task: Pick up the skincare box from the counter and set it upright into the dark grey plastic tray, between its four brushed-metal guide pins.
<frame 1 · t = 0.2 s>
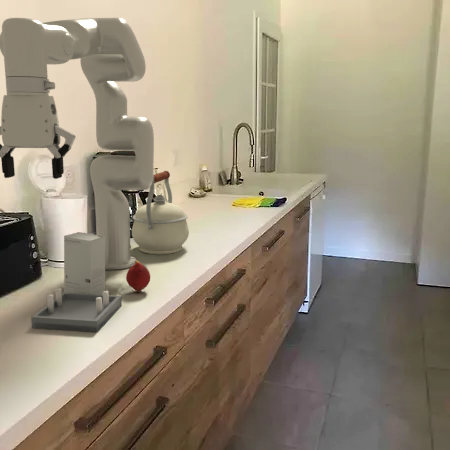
hand: (33, 177, 102), 31 cm above the countertop, fingers open, 9 cm apart
kettle: (162, 248, 170), on the countertop
onion: (138, 292, 128), on the countertop
pin tray: (79, 316, 112), on the countertop
skincare box: (86, 295, 126), on the countertop
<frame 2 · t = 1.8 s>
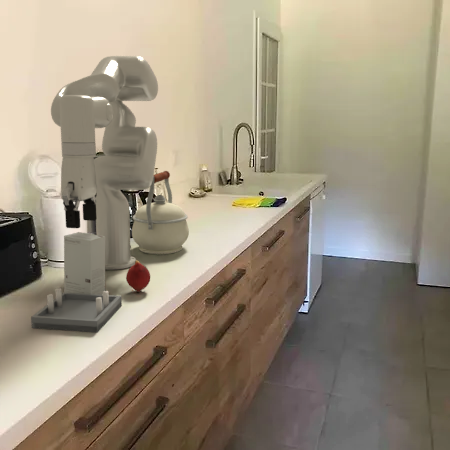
hand: (81, 223, 122), 18 cm above the countertop, fingers open, 9 cm apart
nothing on the countertop moved.
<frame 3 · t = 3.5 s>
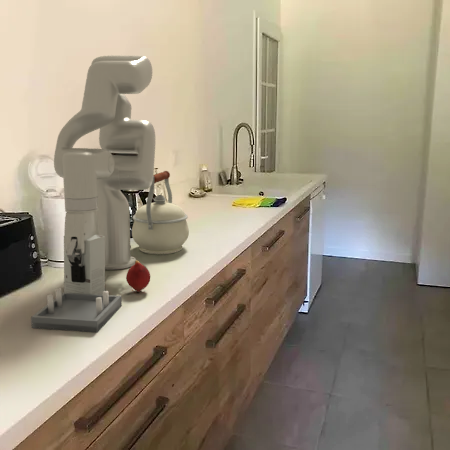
hand: (85, 276, 125), 5 cm above the countertop, fingers closed on skincare box, 7 cm apart
skincare box: (86, 295, 126), on the countertop, touching gripper
everything else where it was.
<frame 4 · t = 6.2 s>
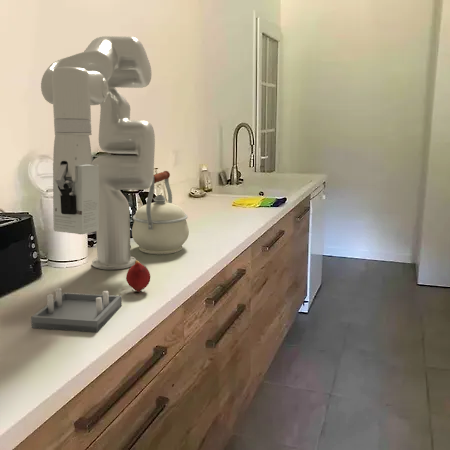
hand: (76, 210, 112), 22 cm above the countertop, fingers closed on skincare box, 7 cm apart
skincare box: (77, 231, 113), point 18 cm above the countertop, touching gripper
everything else where it was.
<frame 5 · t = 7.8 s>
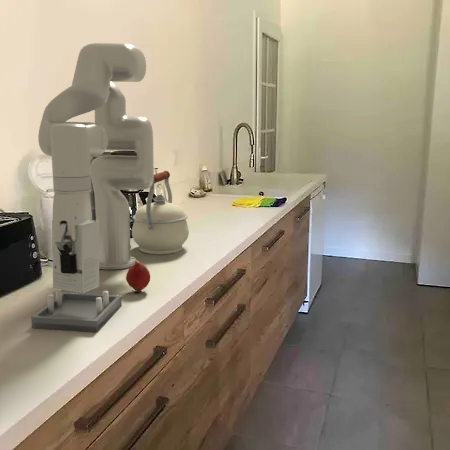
hand: (76, 267, 110), 11 cm above the countertop, fingers closed on skincare box, 7 cm apart
skincare box: (77, 288, 111), point 6 cm above the countertop, touching gripper
everything else where it was.
when the fingers open (7 cm above the countertop, at t = 9.2 s): skincare box drops 1 cm, resting on pin tray.
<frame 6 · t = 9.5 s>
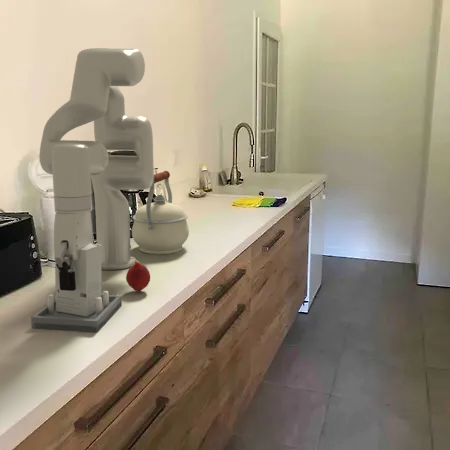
hand: (77, 282, 111), 8 cm above the countertop, fingers open, 9 cm apart
skincare box: (80, 311, 112), point 1 cm above the countertop, touching pin tray
everything else where it was.
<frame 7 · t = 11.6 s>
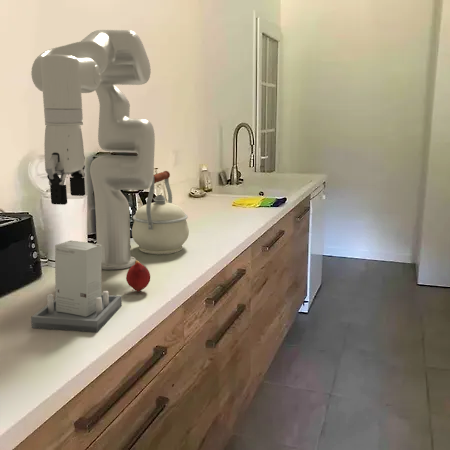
hand: (69, 199, 110), 25 cm above the countertop, fingers open, 9 cm apart
nothing on the countertop moved.
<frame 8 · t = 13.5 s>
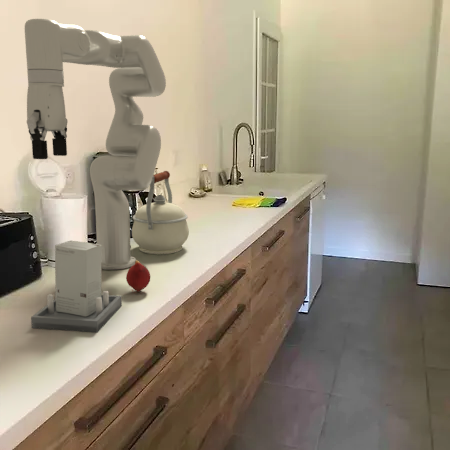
hand: (50, 157, 118), 33 cm above the countertop, fingers open, 9 cm apart
nothing on the countertop moved.
at the end: skincare box 0.5 cm off-centre on the pin tray, point 1.0 cm above the pin tray's base; skincare box tilted 0°; the gripper is holding nothing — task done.
